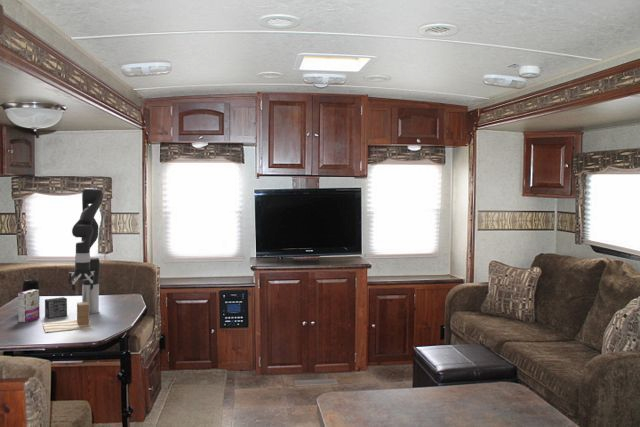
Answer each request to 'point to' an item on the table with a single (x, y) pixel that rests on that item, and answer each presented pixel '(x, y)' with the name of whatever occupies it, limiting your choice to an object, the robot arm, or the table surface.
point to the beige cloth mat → (63, 326)
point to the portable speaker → (30, 284)
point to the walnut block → (83, 313)
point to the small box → (55, 307)
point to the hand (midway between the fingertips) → (82, 290)
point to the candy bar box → (28, 305)
